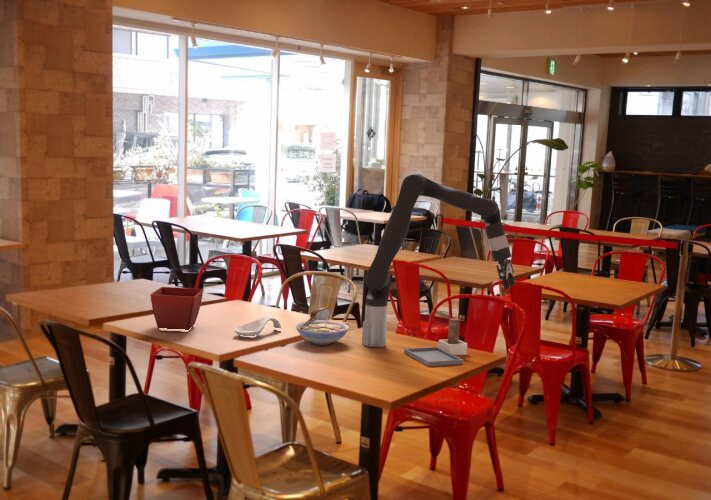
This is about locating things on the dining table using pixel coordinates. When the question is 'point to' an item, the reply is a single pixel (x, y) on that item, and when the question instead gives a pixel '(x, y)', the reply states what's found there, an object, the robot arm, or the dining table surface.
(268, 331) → the dining table surface
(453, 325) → the peg
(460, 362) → the tray
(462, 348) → the square frame
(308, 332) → the ramen bowl
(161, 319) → the plant pot
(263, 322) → the spoon rest
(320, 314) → the soup spoon
